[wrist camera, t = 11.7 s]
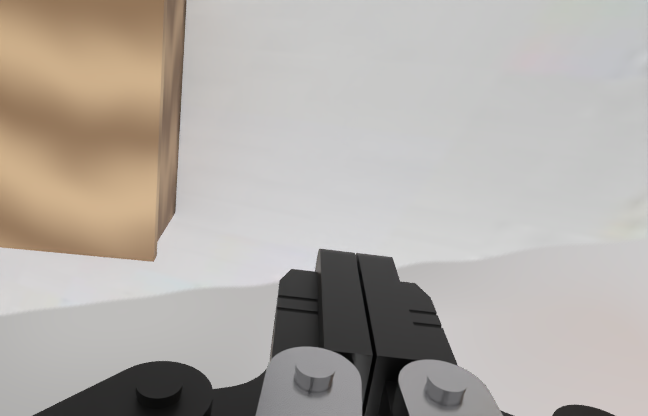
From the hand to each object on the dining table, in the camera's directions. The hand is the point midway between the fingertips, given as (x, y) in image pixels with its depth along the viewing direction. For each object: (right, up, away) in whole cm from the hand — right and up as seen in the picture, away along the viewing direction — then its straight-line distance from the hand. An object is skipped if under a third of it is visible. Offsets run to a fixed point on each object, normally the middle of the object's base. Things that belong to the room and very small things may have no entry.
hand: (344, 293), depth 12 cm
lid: (-15, +7, +19) cm, 25 cm away
